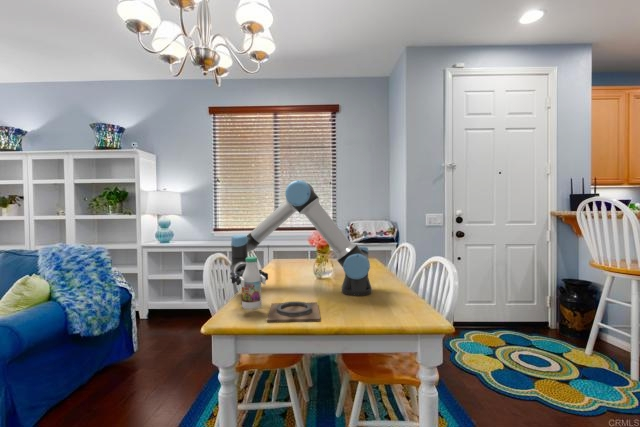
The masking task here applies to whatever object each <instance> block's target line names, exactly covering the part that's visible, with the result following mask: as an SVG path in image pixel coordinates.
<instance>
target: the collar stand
mask: <svg viewBox="0 0 640 427" xmlns="http://www.w3.org/2000/svg"><path fill="white" fill-rule="evenodd" d="M318 304H319V303H318V302H317V301H315V302H313V301H311V302H305V301H297V300H296V301H286V302H273V303H271V304H270V308H269V311H268V314H267V317H266V318H267V319H266V323H302V322H303V323H304V322H305V323H306V322H311V323H312V322H321V316H320V311H319V305H318Z"/></svg>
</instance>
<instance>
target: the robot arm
mask: <svg viewBox="0 0 640 427" xmlns="http://www.w3.org/2000/svg"><path fill="white" fill-rule="evenodd" d="M284 195H285V200H284V202H282V203H281V204H280V205H279V206H278V207H277V208H276V209H275V210H274V211H272V212H271V213H270V214H269V215H268V216H267V217H265V219H264V220H262V222H261V223H259V224H258V225H257V226H256V227H255V228H254V229H252V230H251V231H250V232H249V233H248V234H247V235H246V234H236V235H235V234H234V235H233V236H231V239H230V241H231V242H230V245H231V264H230V270H231V271H230V274H229V276H230V278H229V279H231V284H236V286H239V285H241V286H240V287H241V288H242V287H244V279H243V278H242V276H243V273H244V271H245V268H246V258H247V257H249V256H248V254H249V252H251V251H255V249H256V248H257V247H258V246H259V245H260V244H261V243H262V242H263V241H264V240H265V239H267V237H269V236H270V235H271V234H272V233H273V232H275V231H276V230H277V229H278V228H279V227H280V226H282V224H284V222H286V221H287V220H288V219H289V218H291V216H293V214H295V213H296V212H298V214H299V215H305V217H306V218H307V219H308V221H309V222H310V223H311V225H312V226H313V227H314V228H315V230H316V231H317V232H318V233H319V234H320V235H321V237H322V238H323V240H324V241H325V242H326V243H327V245H328V246H329V247H330V248H331V249H332V251H333V252H334V253H335V254H336V261H337V262H338V263H339V265H340V266H341V267H342V268H343V271H344V279H343V281H342V285H341V293H342V294H344V295H347V296H354V297H356V296H357V297H361V296H362V297H363V296H369V295H371V294H372V291H373V290H372V285H371V282H370V278H369V271H370V268H371V263H370V260H369V253H370V252H369V248H368V247H367V246H358V245H357V243H352V242H351V241H350V239H349V238H347V236H346V235H345V234H344V233H343V231H342V229H340V227H339V226H338V225H337V224H336V223H335V221H334V220H333V219H332V218H331V216H330V214H328V212H327V211H326V209H325V208H323V206H322V205H321V203H320V197H319V196H318V195H317V193H316V192H315V190H314V188H313V186H312V185H311V184H310V183H308V182H306V181H304V180H299V179H298V180H294V181H292V182H290V183H289V184H288V185H287V187H286V188H285V193H284ZM258 270H259V273H260V276H261V285H263V286H264V285H265V286H266V285H267V284H266V283H267V281H268V280H269V273H268V272H265V271H263V270H262V269H258Z"/></svg>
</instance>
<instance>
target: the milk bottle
mask: <svg viewBox="0 0 640 427" xmlns="http://www.w3.org/2000/svg"><path fill="white" fill-rule="evenodd" d="M257 263H258V258H257V256H248V257H247V258H246V268H245V271H244V273H243V276H242V278H243V279H244V287H242V286H241V307H242V309H245V310H254V309H255V310H256V309H259V308H261V306H262V283H261V276H260V273H259V270H260V269H259V267H258V265H257Z"/></svg>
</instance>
